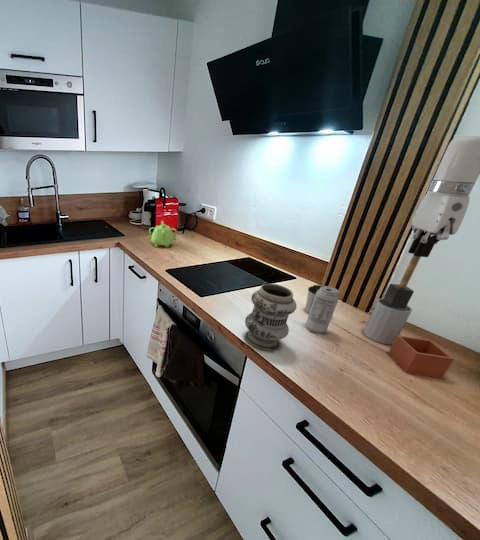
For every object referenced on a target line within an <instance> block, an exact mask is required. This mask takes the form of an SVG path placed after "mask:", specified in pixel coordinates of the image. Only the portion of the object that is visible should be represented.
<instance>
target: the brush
mask: <svg viewBox="0 0 480 540" xmlns="http://www.w3.org/2000/svg"><path fill="white" fill-rule="evenodd" d="M424 237H425V235H423V236H422V238H421V240H420V242H422V241H423V238H424ZM420 242H419V243H420ZM418 245H419V244H418ZM417 247H418V246H417ZM416 249H417V248H416ZM415 251H416V250H415ZM421 258H422V257H419V256H415V255H414V254H412V256H411V258H410V261H409V263H408V265H407V266H406V269H405V271H404V274H403V276H402V277H401V280H400V282H399V284H397V283H389V285H388V287H387V290H386V291H385V293H384V296H383V297H382V298H383V300H382V301H384V302H385V303H386V304H387V305H389V306H390V307H396V308H404V309H405V308H406V306H407V305H409V302H410V300H411V298H412V296H413V294H414V292H415V291H414V289H411V288H410V287H408V285H409V282H410V280H411V277H412V276H413V273H414V272H415V270H416V268H417V266H418V264H419V263H420V262H419V261H420V260H421Z"/></svg>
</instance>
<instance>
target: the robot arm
mask: <svg viewBox="0 0 480 540" xmlns="http://www.w3.org/2000/svg"><path fill="white" fill-rule="evenodd" d="M479 177H480V135H465V136H464V135H463V136H457V137H454V138H453V139H452V140H451V141H450V142H449V143H448V145H447V148H446V150H445V152H444V155H443V157H442V159H441V161H440V163H439V166H438V167H437V170H436V172H435V175H434V176H433V178H432V180H431V182H430V185H429V188H428V189H427V192H426V194H425V195H424V197H423V198H422V200H421V202H420V203H419V205H418V207H417V209H416V211H415V212H414V215H413V217H412V219H411V220H412V221H411V227H410V228H411V229H412V230H413V233H414V234H413V237H412V239H413V240H412V242H411V245H410V247H409V249H408V251H407V253H408V254H411V255H415V256H419V257H421V258H428V257H430V254H431V252H432V251H433V249H434V246H435V245H437V244H438V243H439V242H440V241H447V240H449V238H450V236H453V235H456V234H457V233H458V231H459V229H460V227H461V224H462V223H463V221H464V218H465V217H466V216H465V215H466V213H467V211H468V207H469V204H470V199H471V196H470V194H471V192H472V190H473V188H474V187H475V184H476V182H477V181H478V179H479ZM423 235H425V237H424V238H423V241H422V242H420V240H421V238H422V236H423ZM419 242H420V243H419ZM418 244H419V245H418ZM417 246H418V247H417ZM416 248H417V249H416ZM415 250H416V251H415Z"/></svg>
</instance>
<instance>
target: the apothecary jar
mask: <svg viewBox="0 0 480 540" xmlns="http://www.w3.org/2000/svg"><path fill="white" fill-rule="evenodd" d="M251 303H252V304H253V308H252V310H251V312H250V313H248V314H247V316H246V317H245V320H244V324H245V327H246V328H247V330H248V331H247V332H246V333H245V334H244V335H245V336H244V337H245V340H246V341H247V342H248V343H249V344H250V345H251V346H253V347H255V348H256V349H260V350H263V351H268V352H269V351H270V352H271V351H273V350H278V349H279V348H280V346H281V343H280V340H282V339H285V338H286V337H288V334H289V333H290V329H289V325H288V324H287V323H288V318H289V316H290V315H292V314H293V313H295V311H296V310H297V303H296V300H295V299H294V292H293V291H292V290H291V289H289V288H288V287H286V286H284V285H282V284H281V285H280V284H278V283H263V284H261V286H260V288H259V289H258V290H256V291H254V292H253V293H252V295H251Z"/></svg>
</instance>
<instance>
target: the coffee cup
mask: <svg viewBox="0 0 480 540" xmlns="http://www.w3.org/2000/svg"><path fill="white" fill-rule="evenodd" d="M321 286H322V285H321V284H320V285H319V284H314V285H312V286H309V287H308V289H307V290H308V291H307V298H306V302H305V308H304V311H305V312H306V313H307V314H309V313H310V310H311V307H312V304H313V301H314V298H315V295H316V292H317V290H319V289H320V288H321Z"/></svg>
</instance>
